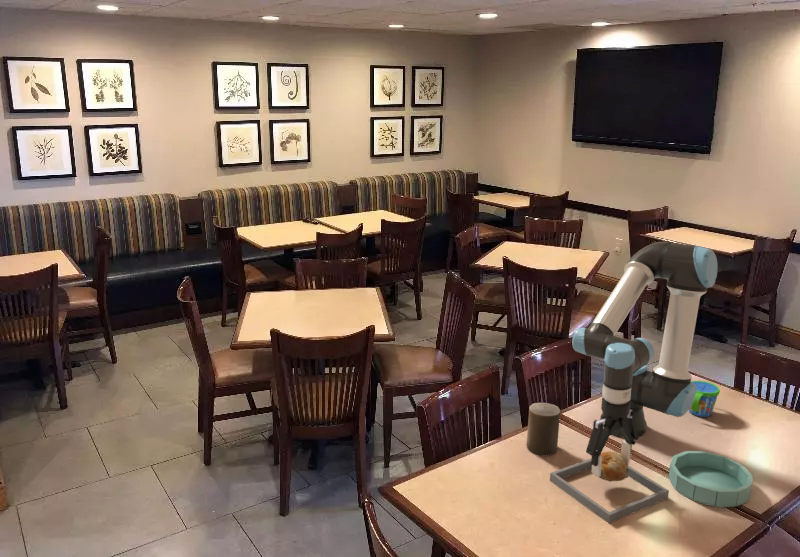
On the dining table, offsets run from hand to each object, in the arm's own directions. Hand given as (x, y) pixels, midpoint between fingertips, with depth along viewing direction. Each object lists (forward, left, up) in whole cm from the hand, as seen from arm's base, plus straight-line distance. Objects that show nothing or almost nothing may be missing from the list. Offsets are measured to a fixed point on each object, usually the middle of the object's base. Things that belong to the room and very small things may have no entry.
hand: (610, 468), depth 189 cm
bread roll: (0, 0, -2) cm, 2 cm away
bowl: (+13, +26, -6) cm, 30 cm away
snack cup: (-18, +63, -7) cm, 66 cm away
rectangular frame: (0, -1, -6) cm, 6 cm away
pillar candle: (-27, -2, -7) cm, 28 cm away
